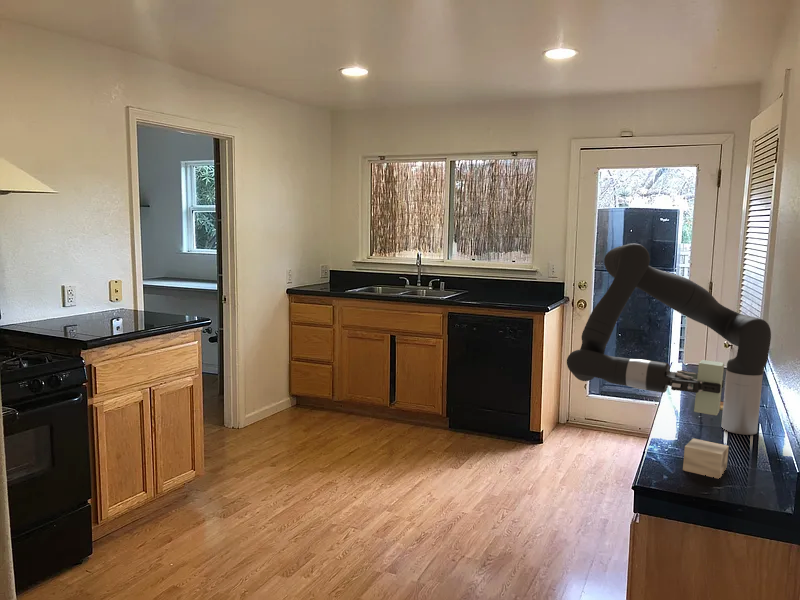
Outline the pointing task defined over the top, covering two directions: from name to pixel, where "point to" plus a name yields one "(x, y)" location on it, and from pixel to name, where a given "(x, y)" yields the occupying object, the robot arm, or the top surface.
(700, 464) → the birch base block
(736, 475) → the top surface
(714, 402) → the sage block
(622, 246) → the robot arm
